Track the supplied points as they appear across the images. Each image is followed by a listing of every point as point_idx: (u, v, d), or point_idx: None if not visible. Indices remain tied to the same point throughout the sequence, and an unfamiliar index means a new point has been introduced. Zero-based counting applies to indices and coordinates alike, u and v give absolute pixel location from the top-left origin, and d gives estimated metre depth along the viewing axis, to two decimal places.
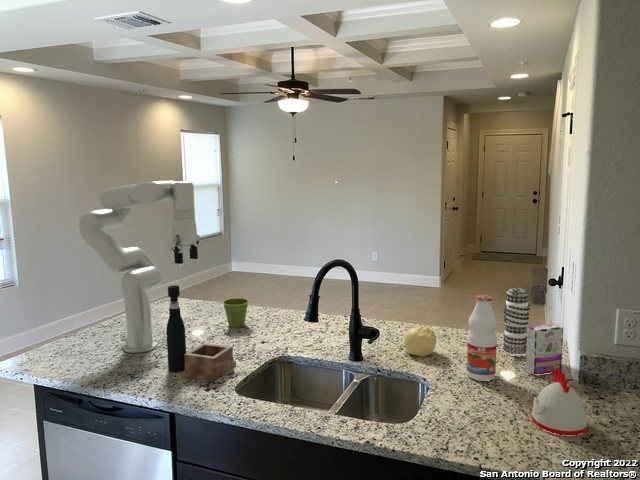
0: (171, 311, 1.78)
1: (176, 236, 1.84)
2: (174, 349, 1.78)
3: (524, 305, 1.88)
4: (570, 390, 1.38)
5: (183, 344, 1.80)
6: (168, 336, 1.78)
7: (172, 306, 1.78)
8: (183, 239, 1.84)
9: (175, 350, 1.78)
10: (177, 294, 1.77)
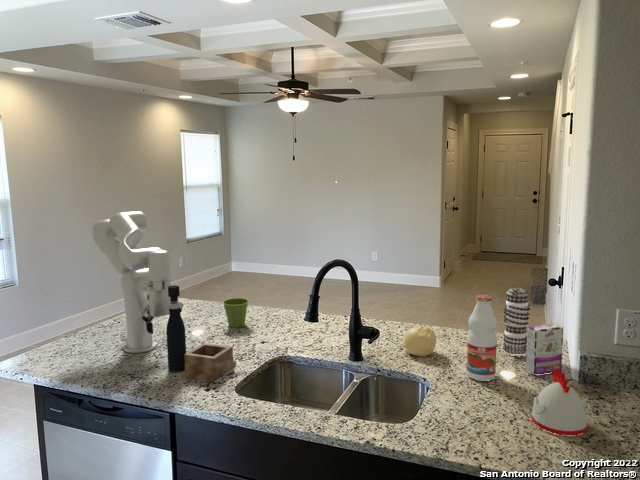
0: (171, 311, 1.78)
1: None
2: (174, 349, 1.78)
3: (524, 305, 1.88)
4: (570, 390, 1.38)
5: (183, 344, 1.80)
6: (168, 336, 1.78)
7: (172, 306, 1.78)
8: None
9: (175, 350, 1.78)
10: (177, 294, 1.77)
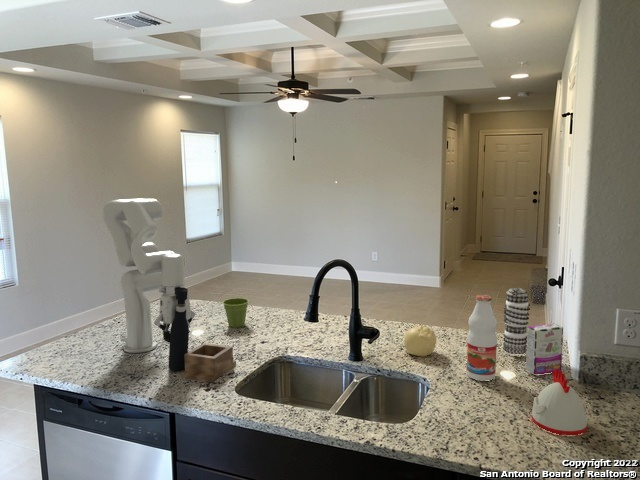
0: (177, 314, 1.74)
1: None
2: (177, 350, 1.77)
3: (524, 305, 1.88)
4: (570, 390, 1.38)
5: (186, 346, 1.78)
6: (172, 337, 1.76)
7: (179, 309, 1.74)
8: None
9: (177, 352, 1.77)
10: (185, 298, 1.73)
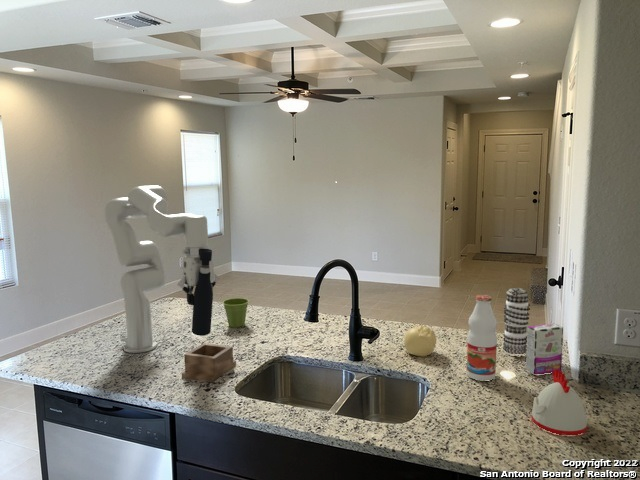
0: (201, 275, 1.71)
1: None
2: (201, 313, 1.73)
3: (524, 305, 1.88)
4: (570, 390, 1.38)
5: (210, 309, 1.75)
6: (195, 300, 1.72)
7: (203, 270, 1.70)
8: None
9: (201, 315, 1.73)
10: (209, 259, 1.70)
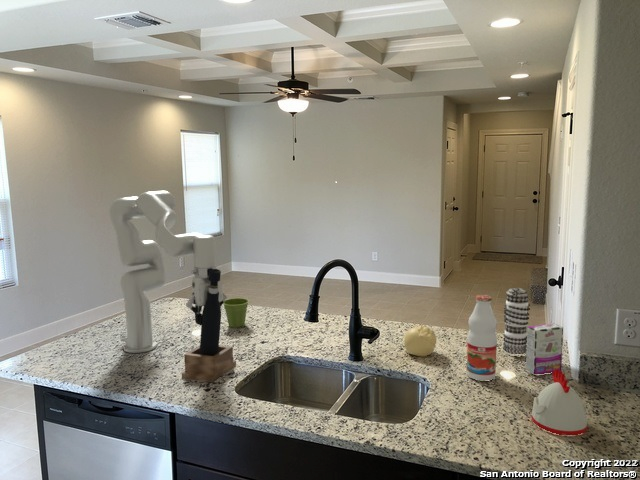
0: (210, 295, 1.71)
1: None
2: (209, 333, 1.74)
3: (524, 305, 1.88)
4: (570, 390, 1.38)
5: (218, 329, 1.75)
6: (204, 320, 1.73)
7: (211, 291, 1.71)
8: None
9: (209, 335, 1.74)
10: (218, 279, 1.70)
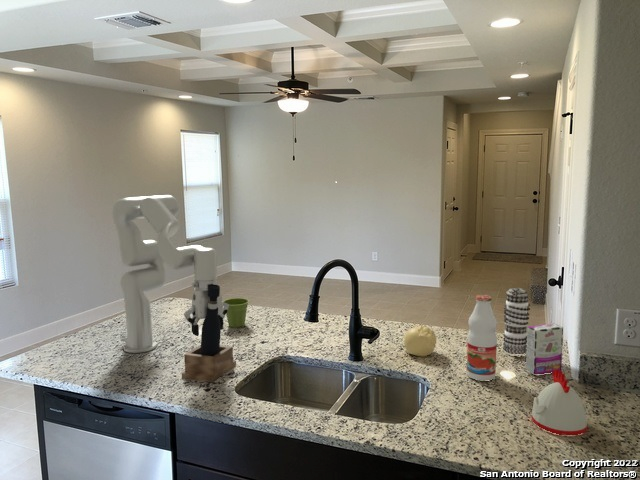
0: (209, 311, 1.72)
1: None
2: (209, 348, 1.74)
3: (524, 305, 1.88)
4: (570, 390, 1.38)
5: (218, 343, 1.76)
6: (204, 335, 1.74)
7: (211, 306, 1.72)
8: None
9: (209, 350, 1.75)
10: (217, 295, 1.71)
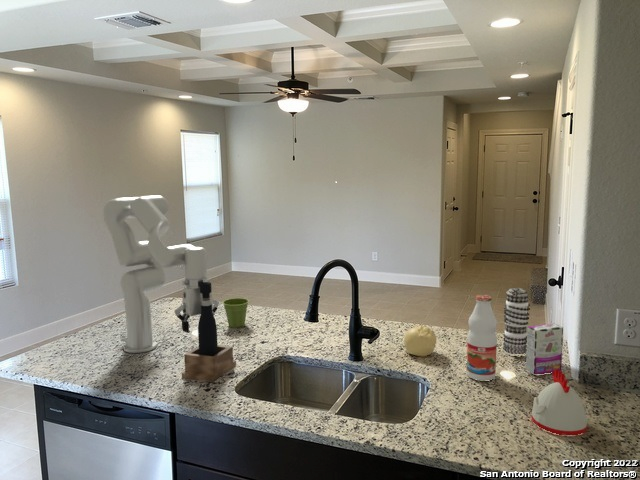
0: (203, 308, 1.75)
1: None
2: (207, 347, 1.76)
3: (524, 305, 1.88)
4: (570, 390, 1.38)
5: (215, 341, 1.78)
6: (200, 333, 1.76)
7: (204, 303, 1.75)
8: None
9: (207, 348, 1.76)
10: (209, 291, 1.75)
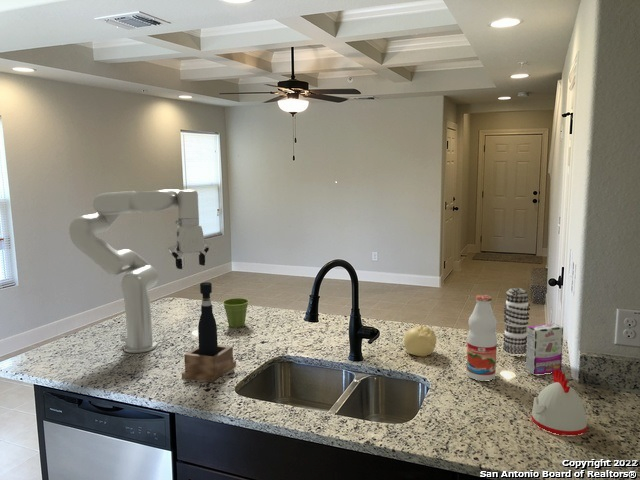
0: (203, 308, 1.75)
1: None
2: (207, 347, 1.76)
3: (524, 305, 1.88)
4: (570, 390, 1.38)
5: (215, 342, 1.77)
6: (200, 334, 1.76)
7: (204, 303, 1.75)
8: None
9: (207, 348, 1.76)
10: (210, 291, 1.75)
